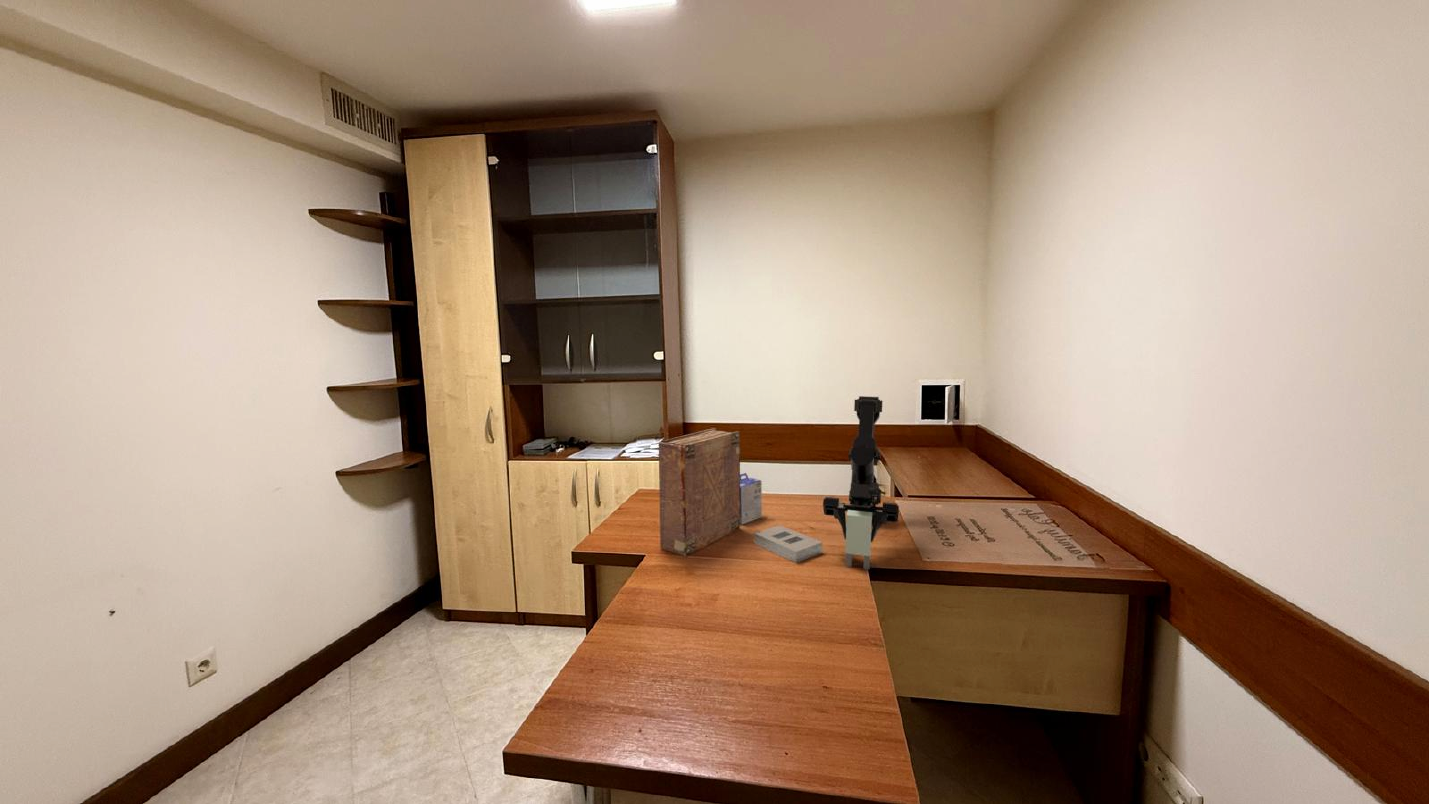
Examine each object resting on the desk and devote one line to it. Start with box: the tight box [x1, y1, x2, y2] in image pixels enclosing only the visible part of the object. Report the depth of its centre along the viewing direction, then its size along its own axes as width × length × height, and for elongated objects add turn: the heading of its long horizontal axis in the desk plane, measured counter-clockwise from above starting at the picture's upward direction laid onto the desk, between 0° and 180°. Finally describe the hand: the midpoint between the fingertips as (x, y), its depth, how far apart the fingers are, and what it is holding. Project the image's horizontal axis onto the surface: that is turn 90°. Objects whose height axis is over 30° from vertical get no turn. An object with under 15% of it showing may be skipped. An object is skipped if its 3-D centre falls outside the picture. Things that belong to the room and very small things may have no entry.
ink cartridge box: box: [740, 472, 763, 526], centre depth 167 cm, size 10×6×14 cm, turn 134°
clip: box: [845, 510, 873, 570], centre depth 134 cm, size 4×6×14 cm, turn 72°
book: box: [658, 427, 741, 558], centre depth 150 cm, size 25×9×30 cm, turn 143°
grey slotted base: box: [753, 524, 823, 564], centre depth 145 cm, size 10×16×3 cm, turn 38°
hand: (858, 540), depth 133 cm, fingers closed on clip, 6 cm apart
